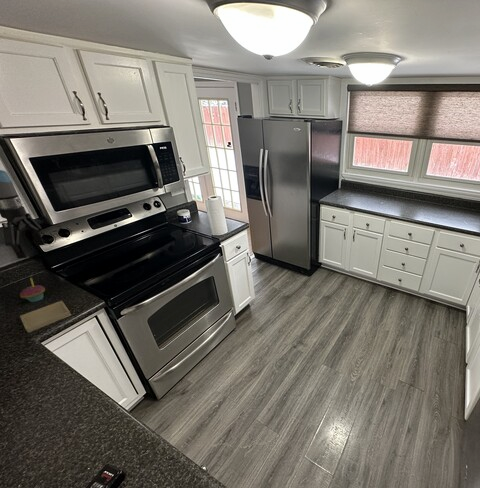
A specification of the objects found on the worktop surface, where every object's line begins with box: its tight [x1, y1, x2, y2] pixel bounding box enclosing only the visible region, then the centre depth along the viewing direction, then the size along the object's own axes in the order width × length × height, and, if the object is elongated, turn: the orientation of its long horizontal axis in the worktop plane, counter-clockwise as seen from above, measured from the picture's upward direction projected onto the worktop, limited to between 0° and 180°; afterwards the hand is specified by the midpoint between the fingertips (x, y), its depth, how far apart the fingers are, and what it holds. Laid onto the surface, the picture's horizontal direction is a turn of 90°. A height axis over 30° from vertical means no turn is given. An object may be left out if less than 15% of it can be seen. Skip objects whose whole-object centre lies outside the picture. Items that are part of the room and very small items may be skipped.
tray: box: [19, 300, 72, 334], centre depth 119 cm, size 13×14×2 cm
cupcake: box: [19, 277, 46, 303], centre depth 128 cm, size 9×8×12 cm
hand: (32, 251), depth 122 cm, fingers open, 13 cm apart
